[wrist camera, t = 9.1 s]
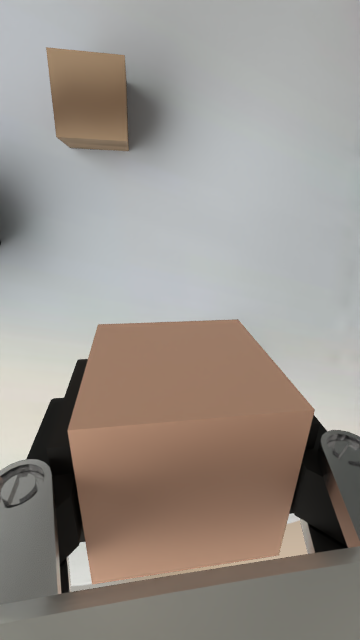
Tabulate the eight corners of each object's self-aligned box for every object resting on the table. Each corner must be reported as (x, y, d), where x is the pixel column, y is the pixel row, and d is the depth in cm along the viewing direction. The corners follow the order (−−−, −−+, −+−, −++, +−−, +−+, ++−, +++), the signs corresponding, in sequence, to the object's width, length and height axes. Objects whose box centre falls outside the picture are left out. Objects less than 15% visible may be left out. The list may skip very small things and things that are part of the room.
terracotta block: (98, 324, 10) (67, 430, 5) (237, 319, 11) (314, 409, 6) (108, 436, 12) (92, 584, 7) (226, 426, 13) (278, 555, 8)
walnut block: (63, 76, 24) (46, 47, 19) (126, 82, 24) (124, 55, 20) (70, 147, 25) (56, 137, 21) (128, 151, 26) (127, 141, 22)
